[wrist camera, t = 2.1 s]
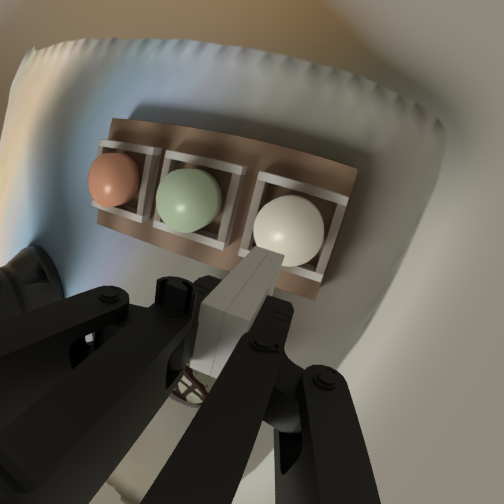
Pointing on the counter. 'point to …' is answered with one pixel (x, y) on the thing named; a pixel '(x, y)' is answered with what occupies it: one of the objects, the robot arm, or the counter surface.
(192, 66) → the counter surface
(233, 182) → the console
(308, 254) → the cream button
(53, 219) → the counter surface
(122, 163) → the terracotta button
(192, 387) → the food container
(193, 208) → the sage button
